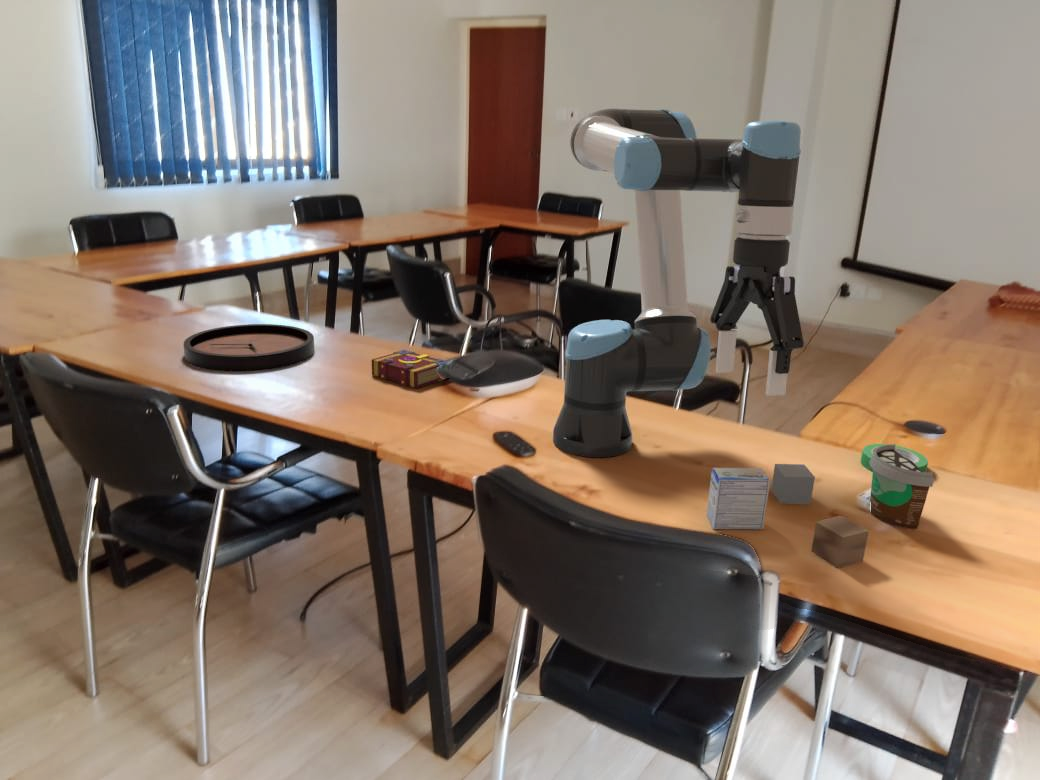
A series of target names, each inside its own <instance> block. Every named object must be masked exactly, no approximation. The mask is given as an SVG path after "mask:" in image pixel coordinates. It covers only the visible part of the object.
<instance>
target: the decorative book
mask: <svg viewBox="0 0 1040 780" xmlns="http://www.w3.org/2000/svg"><path fill="white" fill-rule="evenodd" d="M448 361H449V360H445V359H441V358H434V357H430V355H429V354H426V353H424V354H419V353H416V352H414V351H411V350H408V349H405V348H404V349H401V350H398V351H394V352H392V353H390V354H386V355H383V356H379V357H376V358H371V375H372V376H374V377H378V378H379V379H380V380H383V381H391V382H394V383H397V384H399V386H403V387H406V388H407V387H411V388H414V389H419V388H423V387H425V386H428V385H431V384H435V383H437V382H439V383H440V382H442V379H441V378H440V376H439V375H438V374H437V371H436V369H437V367H439V366H440V365H443V364H445V363H447V362H448Z"/></svg>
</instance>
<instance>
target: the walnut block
mask: <svg viewBox="0 0 1040 780" xmlns="http://www.w3.org/2000/svg"><path fill="white" fill-rule="evenodd" d="M868 536H869V530H868V529H866V528H864V527H863V526H861V525H859V524H857V523H855V522H854V521H853V520H850V519H848V518H847V517H845V516H844V515H838V516H833V517H830V518H826V519H822V520H818V521H816V523H815V527H814V531H813V538H812V543H811V553H812V552H813V553H812V554H814V553H815V554H814V555H815V556H816V557H819V558H820V559H822V560H823V559H824V560H823V561H825V560H826V561H825V562H826V563H828V564H829V565H831V566H832V567H835V568H836V569H840V568H844V567H846V566H851V565H854V564H857V563H861V562H863V561H864V559H865V558H864V557H865V552H866V547H867V542H868Z"/></svg>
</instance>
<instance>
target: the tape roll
mask: <svg viewBox="0 0 1040 780" xmlns="http://www.w3.org/2000/svg"><path fill="white" fill-rule="evenodd" d="M883 445H890V444H889V443H888V444H887V443H872V444H868V445H865V446H864V447H863V449H862V452H861V457H860V464H861V466H862V467H864V468H865V469H866V470H868V471H870V472H872V473H873V469H872V468H871V466H870V464H869V462H870V459H871V457H872V455H873V453H874V452H875V451H876V449H877V448H878V447H880V446H883ZM895 451H896V452H898V453H899V454H900V455H902V456H903V457H905V458H907V459H909V460H911V461H912V462H913V463H914V464H915V465H916V466H917V467H918V468H919V469H920V470H921V471H922V472H926V473H927V469H928V465H929V460H928V458H927V457H926V456H925V455H924V454H921V453H920V452H918V451H916V450H913V449H910V448H907V447H905V446H900V445H897V444H896V445H895Z"/></svg>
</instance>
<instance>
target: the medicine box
mask: <svg viewBox="0 0 1040 780" xmlns="http://www.w3.org/2000/svg"><path fill="white" fill-rule="evenodd" d="M770 485H771V480H770V479H769V478H768V476H767V474H766V473H765V472H764V470H762V469H761V468H759V467H758V468H757V467H754V468H753V467H747V468H746V467H712V468H711V475H710V483H709V490H708V491H709V492H708V500H707V501H708V502H707V511H706V516H707V520H708V522H709V523H710V526H711V528H712V529H713V530H764V525H765V520H766V519H765V517H766V511H767V505H768V499H769V490H770Z"/></svg>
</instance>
